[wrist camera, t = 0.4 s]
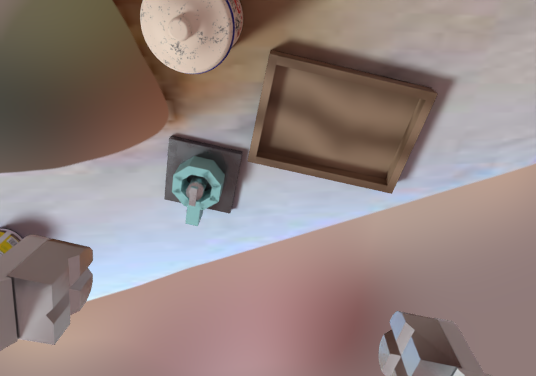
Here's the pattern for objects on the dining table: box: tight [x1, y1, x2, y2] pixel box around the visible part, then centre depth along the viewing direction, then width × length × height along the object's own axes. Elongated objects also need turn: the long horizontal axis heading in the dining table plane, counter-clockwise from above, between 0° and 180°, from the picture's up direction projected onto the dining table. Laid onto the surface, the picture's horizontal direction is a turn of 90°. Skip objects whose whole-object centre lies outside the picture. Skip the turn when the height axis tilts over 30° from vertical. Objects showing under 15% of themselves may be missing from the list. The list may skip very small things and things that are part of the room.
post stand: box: [165, 136, 242, 213], centre depth 50 cm, size 10×10×6 cm
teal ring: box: [172, 156, 225, 226], centre depth 51 cm, size 10×6×3 cm
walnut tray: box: [248, 50, 438, 194], centre depth 46 cm, size 14×20×2 cm
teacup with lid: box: [140, 0, 243, 74], centre depth 36 cm, size 12×9×12 cm
